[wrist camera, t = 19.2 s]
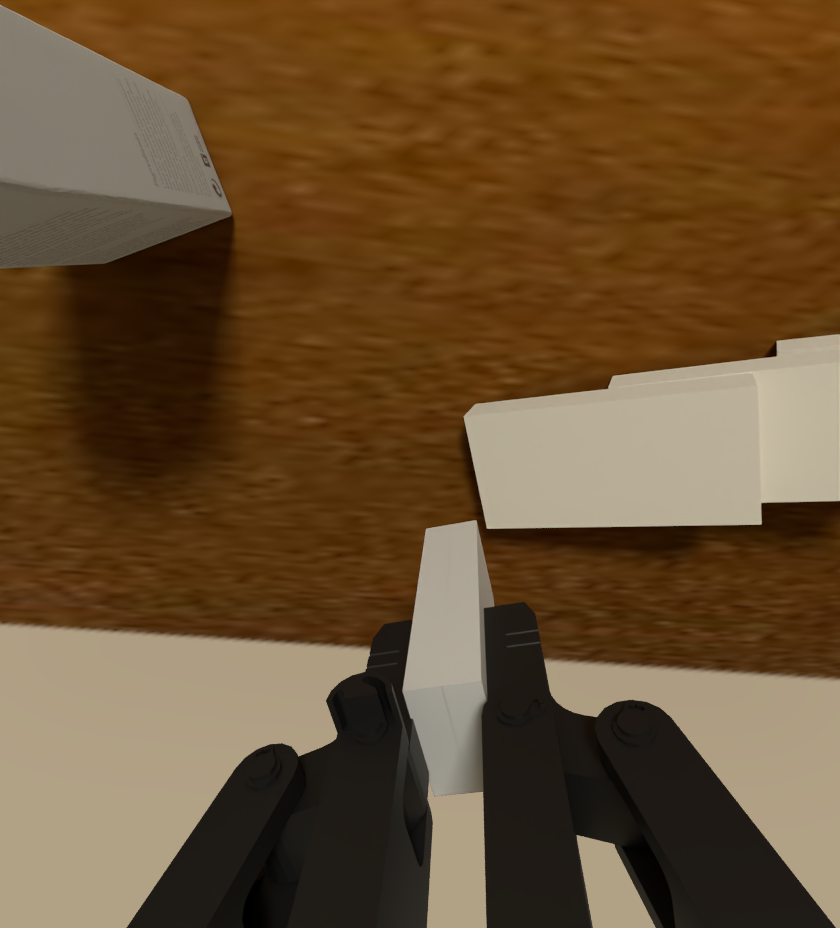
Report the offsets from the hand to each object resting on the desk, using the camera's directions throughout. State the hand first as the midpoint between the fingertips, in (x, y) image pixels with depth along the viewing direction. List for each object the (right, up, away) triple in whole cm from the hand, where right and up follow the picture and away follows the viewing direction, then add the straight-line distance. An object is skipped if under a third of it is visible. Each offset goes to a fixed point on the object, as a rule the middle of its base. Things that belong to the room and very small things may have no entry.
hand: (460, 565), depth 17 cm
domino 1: (+1, +3, +7) cm, 8 cm away
